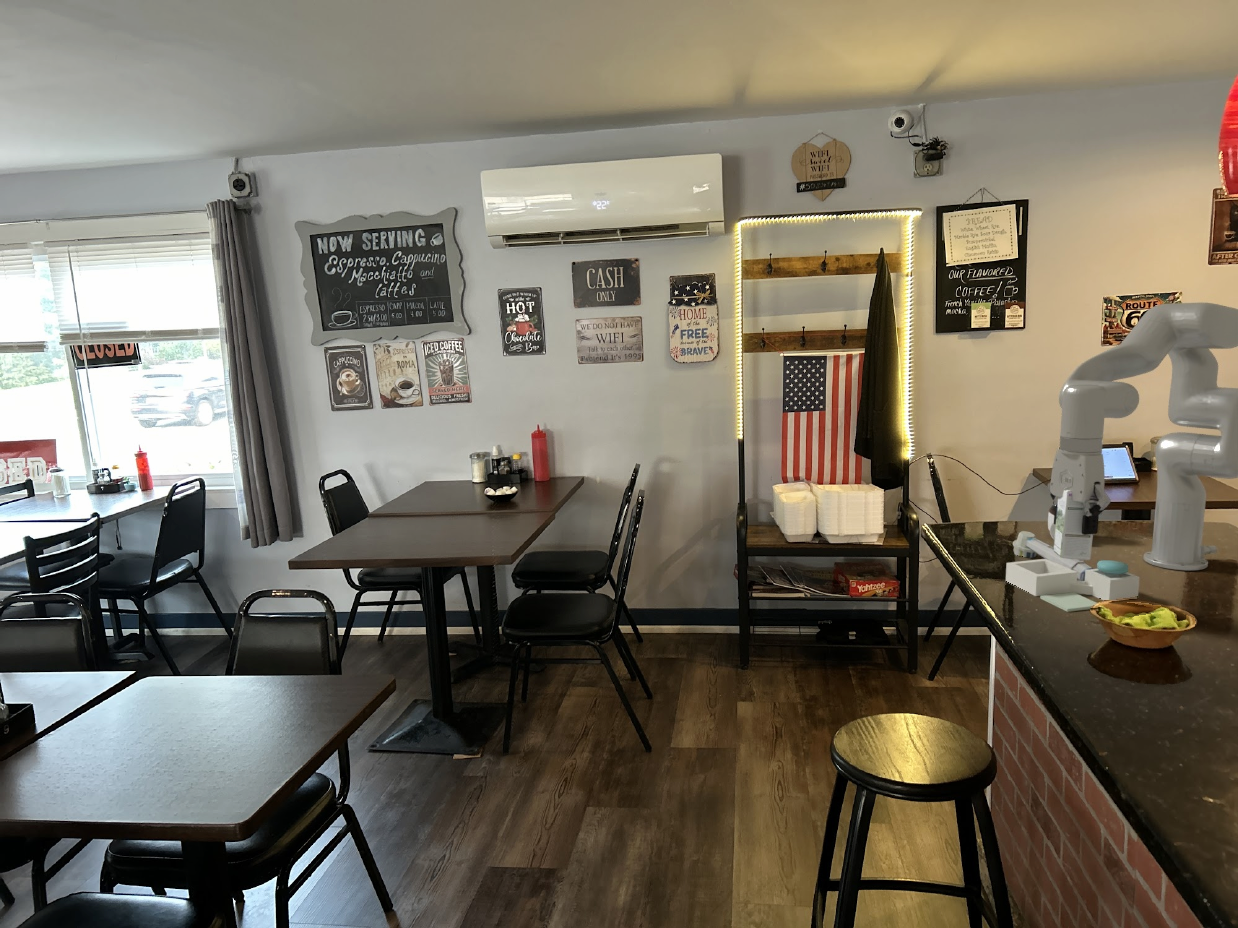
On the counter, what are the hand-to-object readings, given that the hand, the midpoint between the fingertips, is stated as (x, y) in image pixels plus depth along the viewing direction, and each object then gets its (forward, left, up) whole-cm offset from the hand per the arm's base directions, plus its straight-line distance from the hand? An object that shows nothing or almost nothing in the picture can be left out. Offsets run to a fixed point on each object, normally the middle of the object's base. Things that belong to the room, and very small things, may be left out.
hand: (1075, 528), depth 161 cm
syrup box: (+1, 0, -6) cm, 6 cm away
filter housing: (-5, -7, -17) cm, 19 cm away
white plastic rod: (-13, -22, -17) cm, 31 cm away
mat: (0, 0, -17) cm, 17 cm away
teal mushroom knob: (-11, -2, -16) cm, 19 cm away
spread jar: (-32, -40, -17) cm, 54 cm away
